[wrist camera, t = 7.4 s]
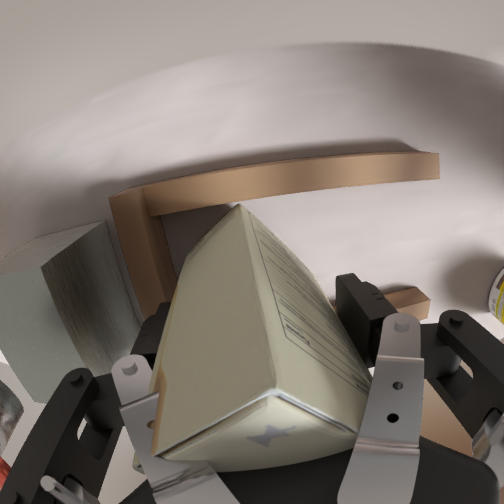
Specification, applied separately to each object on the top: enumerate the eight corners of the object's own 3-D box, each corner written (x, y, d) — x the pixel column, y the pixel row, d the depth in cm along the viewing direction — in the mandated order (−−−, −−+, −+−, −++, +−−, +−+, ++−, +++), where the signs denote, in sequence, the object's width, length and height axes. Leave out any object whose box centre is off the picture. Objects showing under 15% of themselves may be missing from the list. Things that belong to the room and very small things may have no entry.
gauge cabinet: (105, 220, 16) (40, 267, 9) (142, 333, 18) (112, 410, 12) (31, 239, 16) (-35, 283, 9) (70, 337, 18) (30, 400, 12)
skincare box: (183, 256, 16) (111, 464, 4) (239, 198, 15) (259, 376, 3) (264, 324, 18) (299, 519, 6) (318, 277, 17) (419, 462, 5)
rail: (419, 151, 15) (449, 155, 12) (413, 304, 19) (434, 325, 16) (129, 188, 15) (108, 197, 12) (175, 348, 19) (168, 377, 16)
